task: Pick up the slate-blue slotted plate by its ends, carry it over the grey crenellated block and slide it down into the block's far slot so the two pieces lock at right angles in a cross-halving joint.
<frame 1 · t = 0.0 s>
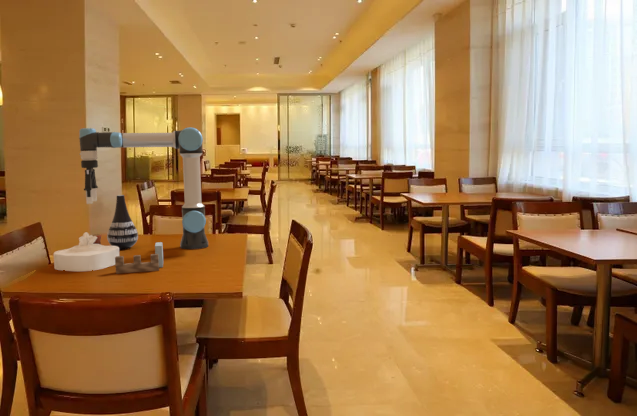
hand: (91, 202, 263), 28 cm above the table, fingers open, 13 cm apart
vase: (123, 248, 291), on the table
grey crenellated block: (137, 271, 234), on the table
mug: (91, 255, 273), on the table
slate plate: (159, 265, 246), on the table
tissue box: (88, 265, 249), on the table
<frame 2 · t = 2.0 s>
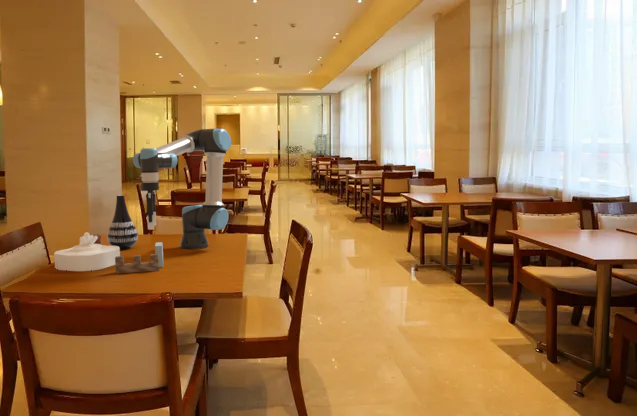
hand: (152, 227, 245), 18 cm above the table, fingers open, 13 cm apart
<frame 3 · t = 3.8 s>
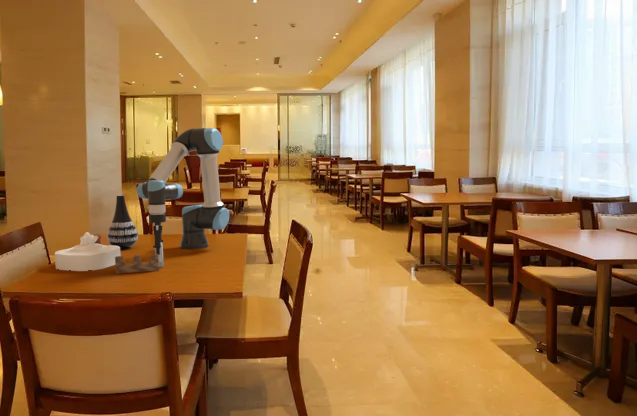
hand: (158, 259, 245), 3 cm above the table, fingers open, 13 cm apart
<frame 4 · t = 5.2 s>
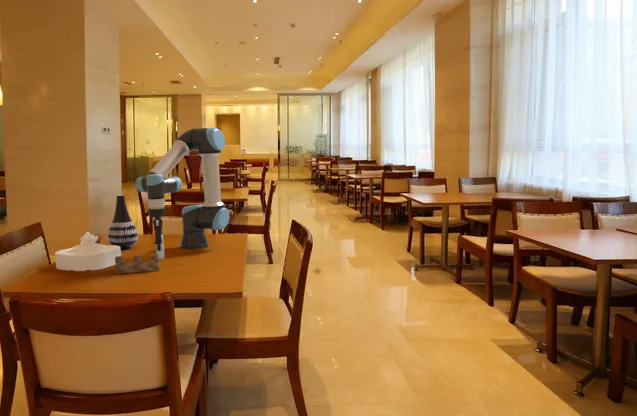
hand: (160, 254, 246), 5 cm above the table, fingers closed on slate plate, 10 cm apart
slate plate: (160, 257, 246), point 4 cm above the table, touching gripper
everything else where it was.
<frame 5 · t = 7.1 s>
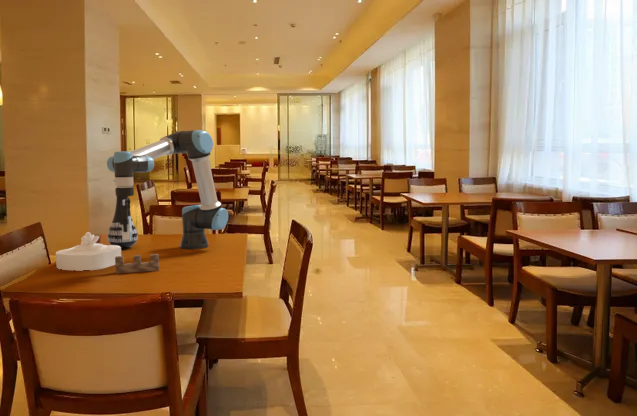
hand: (127, 237, 231), 15 cm above the table, fingers closed on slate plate, 10 cm apart
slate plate: (127, 239, 232), point 14 cm above the table, touching gripper
when the fingers open (2 cm above the table, at t = 9.6 s): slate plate drops 1 cm, on the table.
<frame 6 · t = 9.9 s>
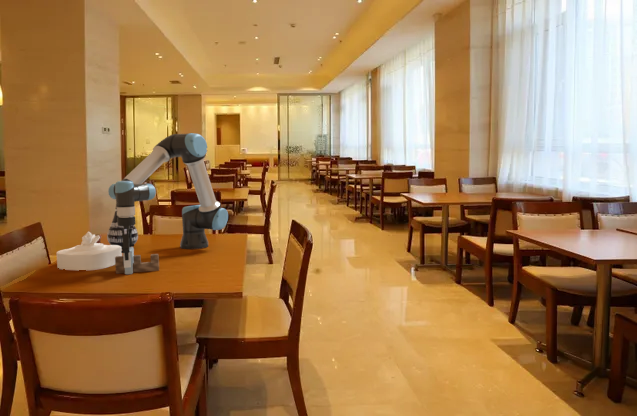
hand: (128, 264, 233), 3 cm above the table, fingers open, 13 cm apart
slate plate: (129, 271, 233), on the table
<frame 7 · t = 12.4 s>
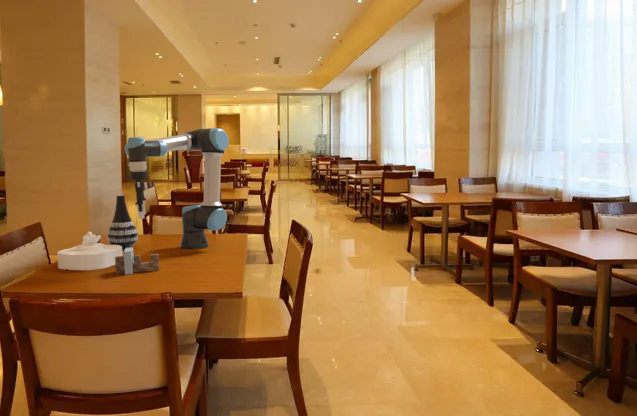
hand: (142, 216, 245), 23 cm above the table, fingers open, 13 cm apart
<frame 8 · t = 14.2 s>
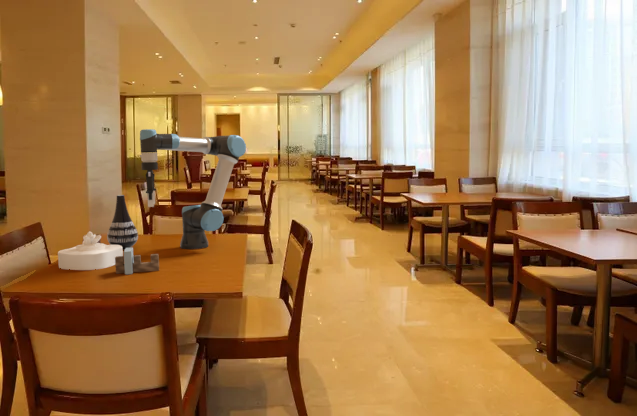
hand: (151, 205, 257), 27 cm above the table, fingers open, 13 cm apart
at the end: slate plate 0.1 cm from the target spot on the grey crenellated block, point 0.0 cm above the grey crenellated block's base; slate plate tilted 0°; the gripper is holding nothing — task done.
